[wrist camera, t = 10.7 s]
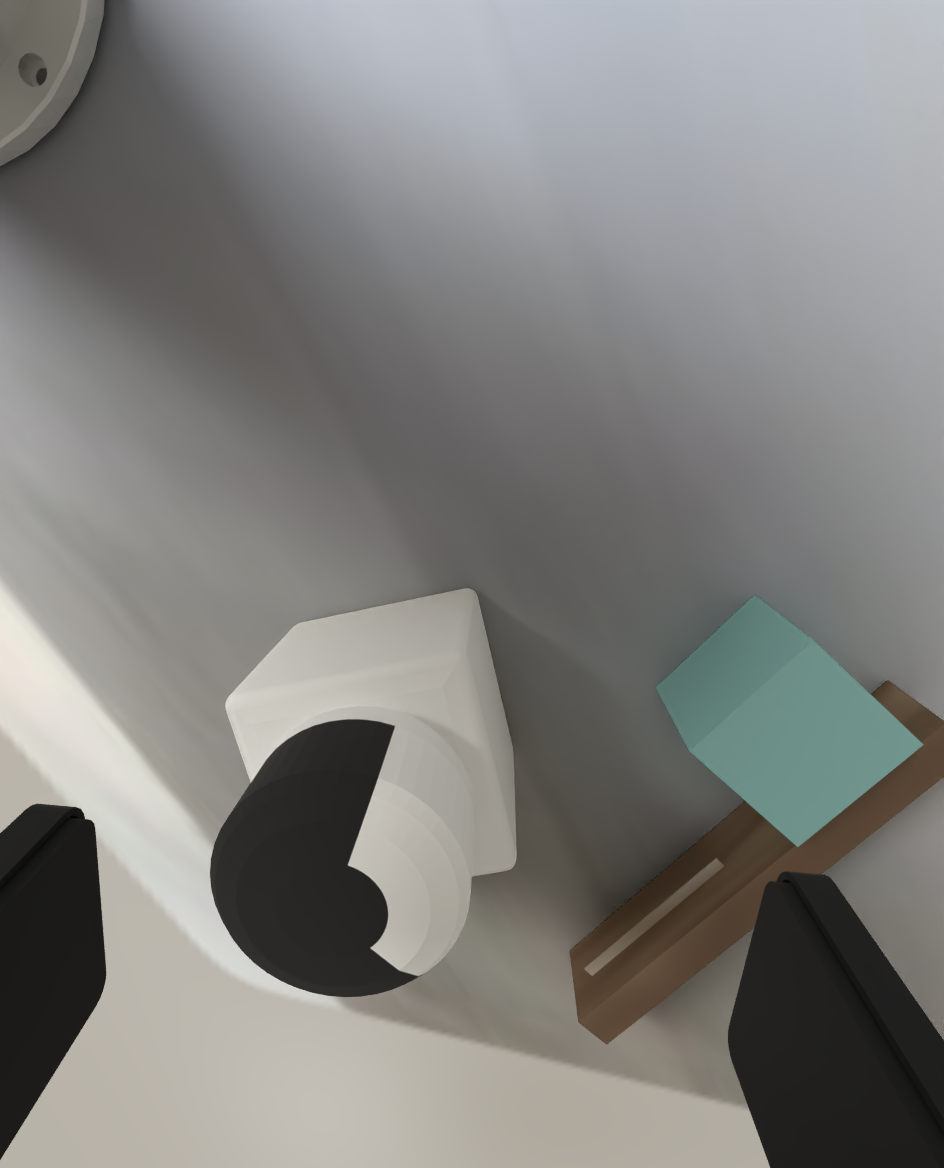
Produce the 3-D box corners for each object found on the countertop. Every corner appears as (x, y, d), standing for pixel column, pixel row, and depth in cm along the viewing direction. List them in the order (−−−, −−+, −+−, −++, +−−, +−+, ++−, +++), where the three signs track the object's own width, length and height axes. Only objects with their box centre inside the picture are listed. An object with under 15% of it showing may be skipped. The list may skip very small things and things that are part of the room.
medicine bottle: (342, 785, 28) (228, 1059, 16) (292, 621, 26) (125, 797, 15) (515, 754, 27) (524, 1016, 16) (475, 583, 25) (452, 736, 14)
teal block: (655, 687, 26) (689, 751, 21) (753, 594, 25) (813, 640, 20) (745, 767, 27) (797, 847, 22) (845, 680, 26) (923, 744, 21)
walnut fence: (563, 945, 29) (570, 1016, 26) (880, 673, 26) (937, 715, 22) (595, 971, 30) (606, 1044, 26) (913, 705, 26) (975, 751, 22)
